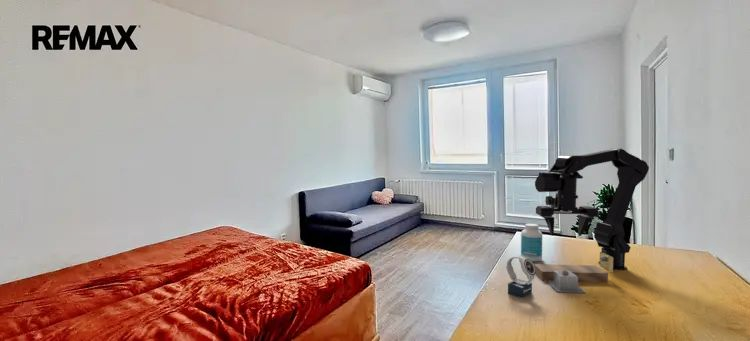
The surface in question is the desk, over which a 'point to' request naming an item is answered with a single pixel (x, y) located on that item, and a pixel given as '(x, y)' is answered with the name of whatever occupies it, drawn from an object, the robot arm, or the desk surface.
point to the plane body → (581, 271)
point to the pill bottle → (531, 242)
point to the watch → (518, 285)
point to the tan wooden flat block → (606, 262)
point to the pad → (564, 290)
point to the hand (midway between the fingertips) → (565, 235)
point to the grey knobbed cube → (565, 280)
